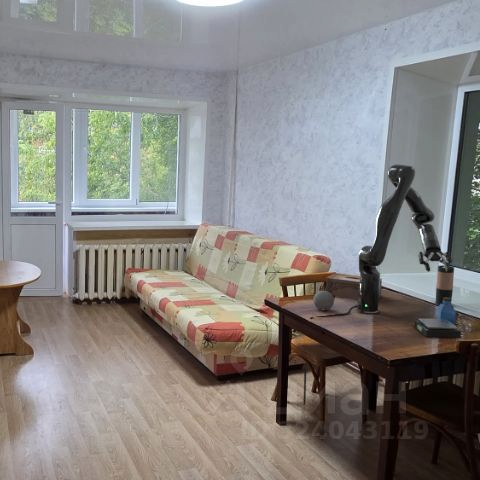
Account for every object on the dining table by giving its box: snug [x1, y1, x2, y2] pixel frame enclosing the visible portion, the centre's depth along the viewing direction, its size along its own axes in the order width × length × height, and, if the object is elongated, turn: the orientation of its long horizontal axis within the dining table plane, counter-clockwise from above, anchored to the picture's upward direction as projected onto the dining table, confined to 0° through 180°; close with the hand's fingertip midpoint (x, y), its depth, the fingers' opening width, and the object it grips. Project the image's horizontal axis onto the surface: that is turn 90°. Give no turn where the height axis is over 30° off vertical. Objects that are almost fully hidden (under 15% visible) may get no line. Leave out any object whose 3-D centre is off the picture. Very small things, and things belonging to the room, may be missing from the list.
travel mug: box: [435, 264, 455, 306], centre depth 272 cm, size 8×8×20 cm
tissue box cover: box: [325, 272, 383, 301], centre depth 292 cm, size 26×14×10 cm, turn 52°
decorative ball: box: [312, 290, 335, 311], centre depth 266 cm, size 10×10×10 cm
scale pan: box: [417, 318, 459, 329], centre depth 231 cm, size 12×12×1 cm
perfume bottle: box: [435, 297, 457, 326], centre depth 243 cm, size 6×6×12 cm
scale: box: [414, 319, 462, 339], centre depth 232 cm, size 14×14×3 cm
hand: (438, 270), depth 252 cm, fingers open, 8 cm apart
